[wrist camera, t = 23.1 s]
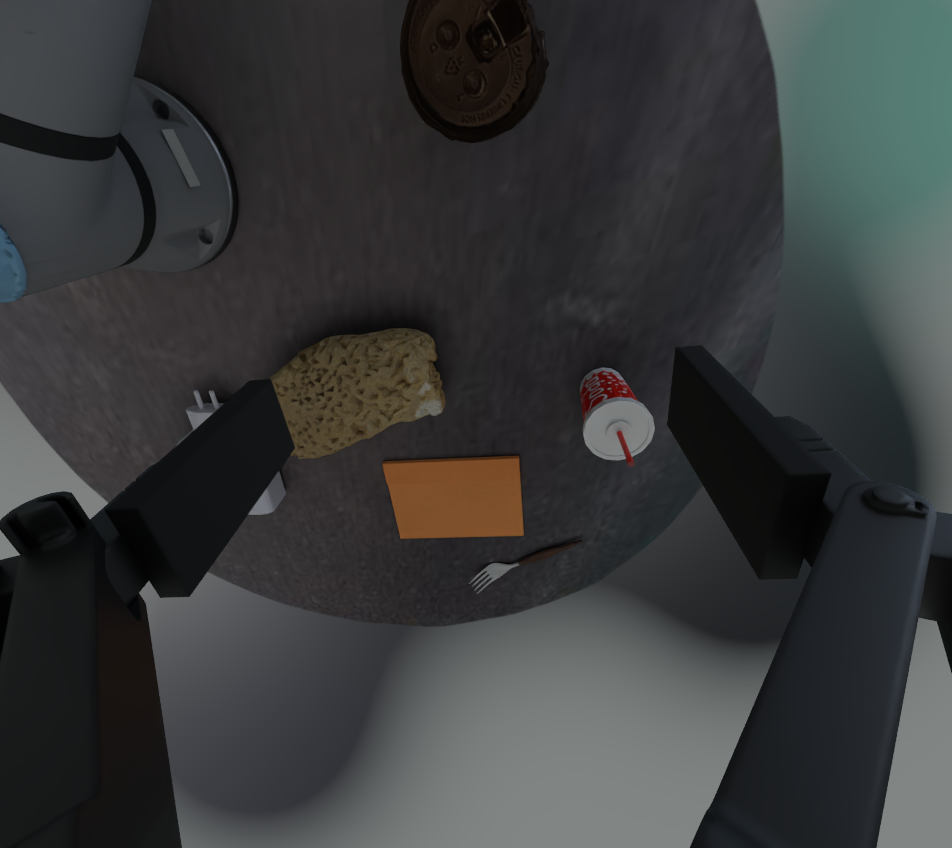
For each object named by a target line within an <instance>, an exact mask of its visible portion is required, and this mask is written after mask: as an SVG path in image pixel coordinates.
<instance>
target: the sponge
mask: <svg viewBox="0 0 952 848" xmlns="http://www.w3.org/2000/svg"><path fill="white" fill-rule="evenodd" d="M435 348H436V347H435V343H434V340H433V339H432V338H431V337H430V336H429V335H428V334H427V333H424V332H421V331H419V330H416V329H409V328H391V329H386V330H383V331H379V332H372V333H367V334H361V335H337V336H331V337H328V338H325V339H323V340H322V341H320V342H318V343H317V344H315V345H312V346H310V347H308V348H306V349H303V350H301V351H299V352H298V355H297V356H296V357H294V358H293V359H292V360H291V361H290V362H289V363H287V364H286V365H285V366H283V367H282V368H281V369H280V370H279V371H278V372H277V373H275V374H274V375H272V376H271V377H270V378H269V379H271V380H272V383H273V386H274V389H275V392H276V394H277V397H278V400H279V403H280V406H281V409H282V411H283V414H284V417H285V420H286V423H287V426H288V429H289V431H290V434H291V437H292V440H293V443H294V446H295V449H294V450H293V452H292V453H291V455H292V456H296V455H297V456H298V458H299V459H304V458H315V459H316V458H319V457H322V456H324V455H330V454H333V453H335V452H338V451H340V450H342V449H343V448H344V447H347V446H351V445H353V444H354V443H356V442H357V441H359V440H362V439H370V438H372V437H373V436H374V435H376V434H378V433H379V432H381V431H382V430H384V429H385V428H387V427H388V426H390V425H392V424H395V423H398V422H401V421H403V422H411V421H414V420H417V419H420V418H422V417H424V416H426V415H428V414H431V415H433V416H436V415H438V414H440V413H442V411H443V408H444V406H445V396H444V392H443V390H442V389H441V387H442V381H441V380H440V374H439V373H438V372H436V369H435V367H434V365H433V363H432V362H434V361H436V360H437V354H436V352H435Z"/></svg>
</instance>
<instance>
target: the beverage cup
mask: <svg viewBox="0 0 952 848" xmlns="http://www.w3.org/2000/svg"><path fill="white" fill-rule="evenodd" d="M580 397H581V404H582V410H583V417H584V425H583V435H584V439H585V443H586V446H587V447H588V448H589V449H590V450H591V451H592V452H593V454H595V455H597V456H599V457H601V458H603V459H608V460H622V459H626V460H627V463H628V465H629V466H630V467H632V466H634V461H633V459H632V457H633V456H635V455H636V454H638V453H640V452H641V451H643V450H644V449H645V448H646V446H647V445H648V444H649V443H650V442H651V440H652V437H653V433H654V430H655V427H654V421H653V417H652V415H651V414H650V412H649V411H648V410H647V409H646V407H645V406H644V405H643V404H642V403H640V402H639V401H638V400H637V398H636V397H635V395H634V394H633V392H632V391H631V390H630V388H629V387H628V385H627V384H626V382H625V381H624V379H623V378H622V377H621V375H620V374H619V373H618V372H617V371H615V370H613V369H611V368H599V369H595V370H592V371H591V372H590V373H588V374H587V375H586V376H585V377H584V378H583V380H582V381H581V385H580Z"/></svg>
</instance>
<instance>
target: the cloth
mask: <svg viewBox="0 0 952 848" xmlns="http://www.w3.org/2000/svg"><path fill="white" fill-rule="evenodd" d="M382 465H383V469H384V473H385V477H386V482H387V484H388V486H389V491H390V495H391V499H392V504H393V508H394V512H395V516H396V521H397V525H398V529H399V534H400V538H401V539H404V538H445V537H486V536H524V531H523V515H522V498H521V482H520V465H519V456H495V457H472V458H448V459H425V460H401V461H383V464H382Z"/></svg>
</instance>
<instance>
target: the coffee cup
mask: <svg viewBox="0 0 952 848" xmlns="http://www.w3.org/2000/svg"><path fill="white" fill-rule="evenodd" d="M544 37H545V32H544V31H539V30H538V29H537V26H536V24H535V19H534V10H533V8H532V6H531V5H530V4H529V3H527V0H409V2H408V5H407V9H406V13H405V18H404V21H403V25H402V31H401V38H400V55H401V63H402V74H403V78H404V82H405V86H406V89H407V92H408V95H409V99H410V100H411V102H412V104H413V105H414V107H415V109H416V111H417V112H418V114H419V115H420V117H421V118H422V120H423V121H424V122H425V123H426V124H427V125H429V126H430V127H432V128H434V129H435V130H437V131H439V132H440V133H442V134H443V135H444V136H445V137H447V138H449V139H450V140H457V141H462V142H468V143H477V142H482V141H485V140H489V139H492V138H494V137H496V136H498V135H500V134H502V133H503V132H505V131H508V130H511V129H512V128H514V127H515V126H516V125H517V124H518V123H519V122H520V121H521V120H522V119H523V118H524V117H526V116H527V114H528V113H529V111H531V110H532V108H533V106H534V105H535V102H536V101H537V99H538V97H539V94H540V93H541V90H542V87H543V84H544V82H545V76H546V75H545V72H546V69H547V68H548V65H549V62H548V60H547V58H546V49H545V41H544Z"/></svg>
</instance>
